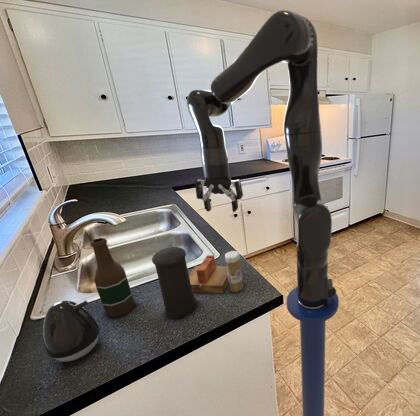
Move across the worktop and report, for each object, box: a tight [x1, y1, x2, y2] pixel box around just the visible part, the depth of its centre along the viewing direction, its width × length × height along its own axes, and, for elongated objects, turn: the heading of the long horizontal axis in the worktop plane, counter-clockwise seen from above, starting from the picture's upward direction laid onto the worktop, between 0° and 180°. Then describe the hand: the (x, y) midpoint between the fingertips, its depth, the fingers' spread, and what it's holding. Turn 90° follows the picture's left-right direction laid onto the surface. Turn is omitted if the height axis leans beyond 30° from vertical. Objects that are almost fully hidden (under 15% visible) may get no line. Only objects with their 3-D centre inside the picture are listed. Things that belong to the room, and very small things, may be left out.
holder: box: [196, 254, 217, 283], centre depth 92 cm, size 9×3×5 cm, turn 178°
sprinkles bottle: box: [224, 250, 244, 293], centre depth 89 cm, size 5×5×14 cm
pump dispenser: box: [42, 299, 101, 363], centre depth 66 cm, size 10×10×15 cm
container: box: [151, 246, 196, 319], centre depth 79 cm, size 9×9×20 cm
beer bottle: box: [90, 237, 135, 318], centre depth 78 cm, size 8×8×24 cm
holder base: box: [188, 265, 229, 294], centre depth 94 cm, size 14×13×3 cm
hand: (222, 210), depth 87 cm, fingers open, 8 cm apart
